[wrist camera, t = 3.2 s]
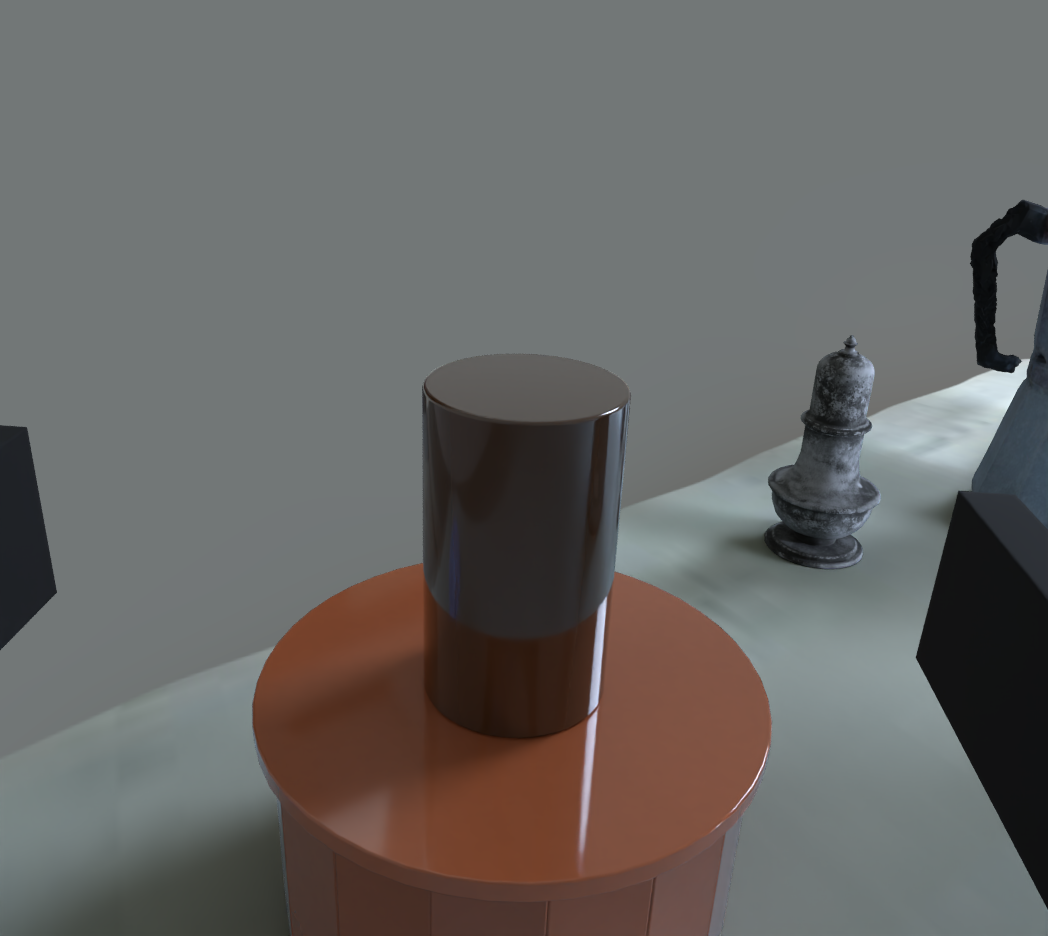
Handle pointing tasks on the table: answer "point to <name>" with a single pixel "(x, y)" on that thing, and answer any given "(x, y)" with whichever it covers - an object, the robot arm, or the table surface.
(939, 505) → the table surface
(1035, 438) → the moka pot
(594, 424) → the lid
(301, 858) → the pot
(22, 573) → the robot arm
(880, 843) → the table surface
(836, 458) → the salt shaker
